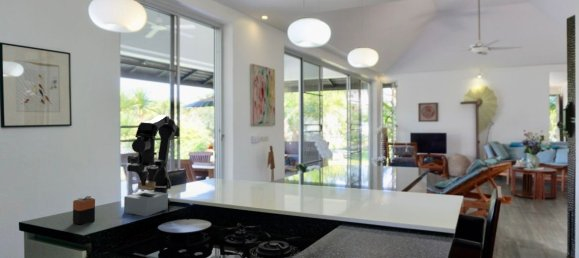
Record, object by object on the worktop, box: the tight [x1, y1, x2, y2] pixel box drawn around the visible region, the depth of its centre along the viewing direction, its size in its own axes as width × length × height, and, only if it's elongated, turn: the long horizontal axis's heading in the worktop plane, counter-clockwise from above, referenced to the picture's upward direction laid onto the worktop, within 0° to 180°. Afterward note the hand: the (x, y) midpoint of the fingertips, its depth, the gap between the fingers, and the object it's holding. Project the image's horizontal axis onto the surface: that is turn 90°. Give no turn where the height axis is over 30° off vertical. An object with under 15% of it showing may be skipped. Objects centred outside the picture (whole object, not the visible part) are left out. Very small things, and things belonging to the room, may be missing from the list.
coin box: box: [123, 190, 169, 217], centre depth 173 cm, size 14×12×7 cm
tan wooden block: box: [137, 180, 156, 191], centre depth 173 cm, size 4×6×3 cm, turn 70°
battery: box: [72, 195, 96, 225], centre depth 153 cm, size 4×7×10 cm, turn 154°
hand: (146, 185), depth 173 cm, fingers closed on tan wooden block, 4 cm apart
